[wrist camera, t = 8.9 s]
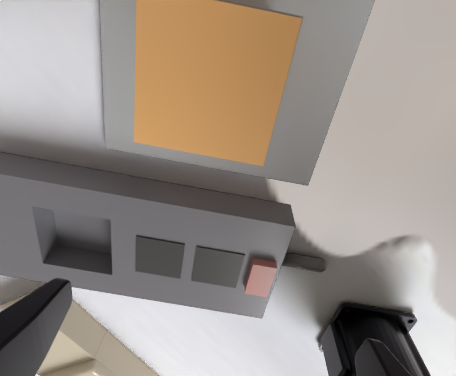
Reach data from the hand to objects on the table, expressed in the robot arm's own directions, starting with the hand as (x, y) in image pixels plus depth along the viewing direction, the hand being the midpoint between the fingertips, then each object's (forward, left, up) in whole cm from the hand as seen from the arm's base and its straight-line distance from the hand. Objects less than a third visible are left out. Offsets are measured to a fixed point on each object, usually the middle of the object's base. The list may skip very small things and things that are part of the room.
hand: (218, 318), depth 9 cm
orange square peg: (+2, -6, -11) cm, 13 cm away
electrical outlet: (+11, +24, -12) cm, 29 cm away
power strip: (+4, +7, -12) cm, 14 cm away
